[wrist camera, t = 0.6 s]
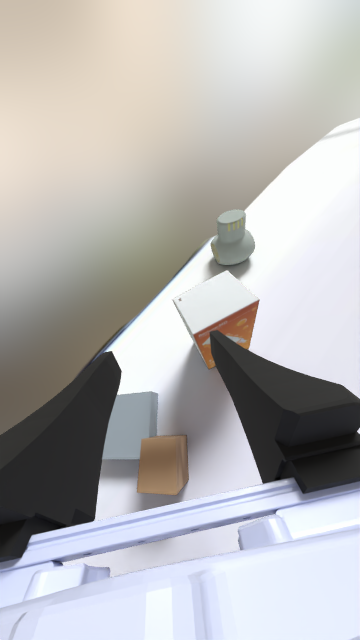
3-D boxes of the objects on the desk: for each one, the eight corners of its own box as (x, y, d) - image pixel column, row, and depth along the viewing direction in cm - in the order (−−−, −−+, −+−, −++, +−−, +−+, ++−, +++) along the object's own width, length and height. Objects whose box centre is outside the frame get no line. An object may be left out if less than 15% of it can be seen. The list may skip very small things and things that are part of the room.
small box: (209, 370, 25) (191, 336, 15) (193, 341, 29) (170, 298, 19) (250, 348, 25) (261, 298, 15) (229, 322, 29) (226, 268, 19)
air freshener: (257, 262, 36) (263, 217, 28) (223, 275, 37) (220, 234, 29) (238, 241, 42) (239, 200, 34) (210, 252, 43) (204, 214, 35)
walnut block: (188, 479, 19) (176, 495, 15) (156, 478, 20) (136, 492, 16) (186, 435, 22) (175, 438, 18) (157, 435, 23) (141, 439, 19)
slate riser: (156, 455, 22) (147, 459, 19) (109, 455, 23) (95, 459, 21) (158, 394, 26) (151, 391, 24) (119, 398, 28) (108, 395, 25)
